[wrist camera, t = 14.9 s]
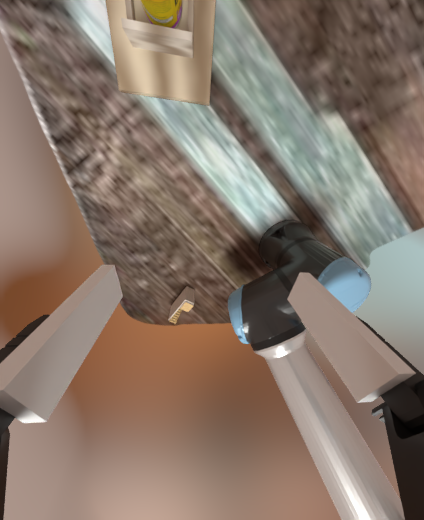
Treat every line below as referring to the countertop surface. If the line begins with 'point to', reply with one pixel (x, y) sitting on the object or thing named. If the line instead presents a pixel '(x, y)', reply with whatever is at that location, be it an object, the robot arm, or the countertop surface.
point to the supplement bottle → (163, 12)
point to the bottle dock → (163, 51)
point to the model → (182, 303)
